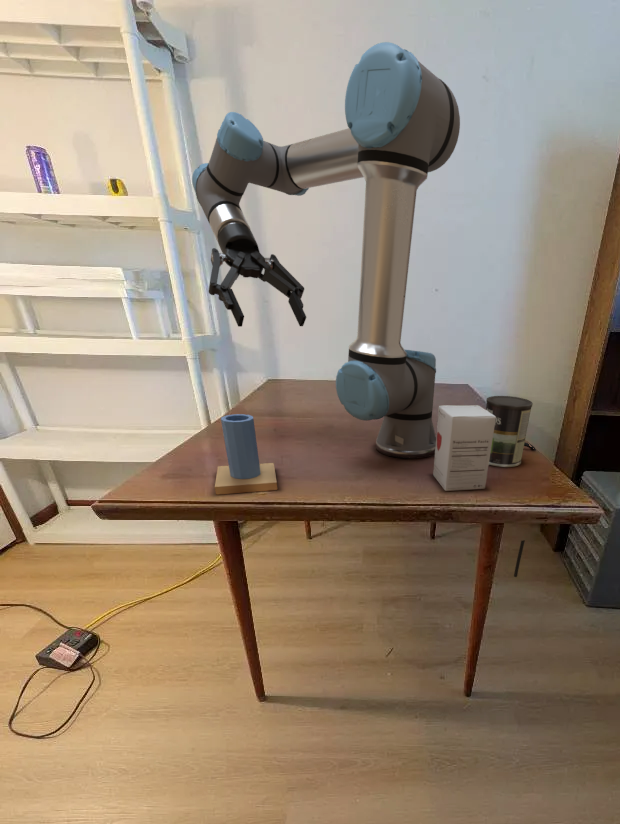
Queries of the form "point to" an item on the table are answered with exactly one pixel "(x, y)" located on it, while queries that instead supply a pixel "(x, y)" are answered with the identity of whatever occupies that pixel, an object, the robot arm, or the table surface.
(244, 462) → the blue hollow tube
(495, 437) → the coffee can
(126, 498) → the table surface
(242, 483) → the stand
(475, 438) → the white product box
